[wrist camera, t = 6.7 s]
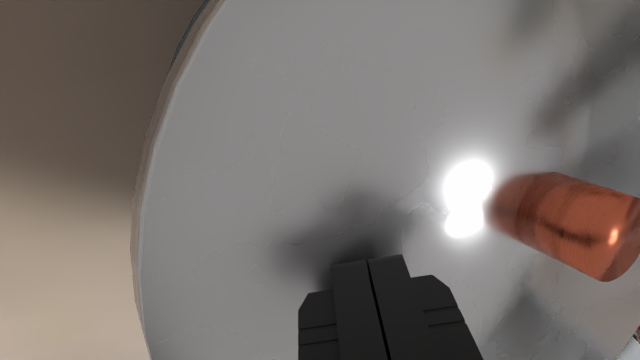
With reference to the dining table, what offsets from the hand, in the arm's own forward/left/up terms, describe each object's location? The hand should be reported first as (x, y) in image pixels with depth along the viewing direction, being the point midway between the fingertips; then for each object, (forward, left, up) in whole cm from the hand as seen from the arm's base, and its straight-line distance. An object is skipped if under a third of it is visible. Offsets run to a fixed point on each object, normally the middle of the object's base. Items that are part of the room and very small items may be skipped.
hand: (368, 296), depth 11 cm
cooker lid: (-3, 0, -3) cm, 4 cm away
